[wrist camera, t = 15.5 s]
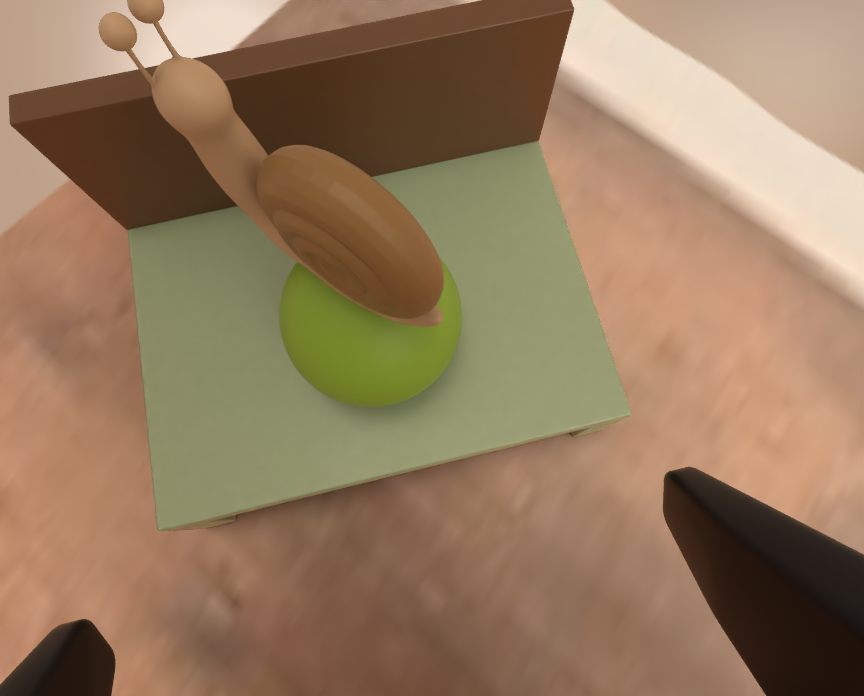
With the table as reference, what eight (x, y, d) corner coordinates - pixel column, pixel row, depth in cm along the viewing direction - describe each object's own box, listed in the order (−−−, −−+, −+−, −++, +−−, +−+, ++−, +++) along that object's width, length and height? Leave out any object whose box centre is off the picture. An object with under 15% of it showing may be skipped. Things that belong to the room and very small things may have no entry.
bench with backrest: (600, 431, 23) (718, 372, 13) (206, 528, 22) (23, 541, 12) (518, 177, 26) (564, -18, 16) (172, 253, 25) (7, 94, 16)
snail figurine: (341, 231, 21) (220, -113, 9) (488, 321, 20) (556, 59, 8) (249, 348, 20) (-20, 119, 8) (401, 451, 19) (339, 355, 7)
